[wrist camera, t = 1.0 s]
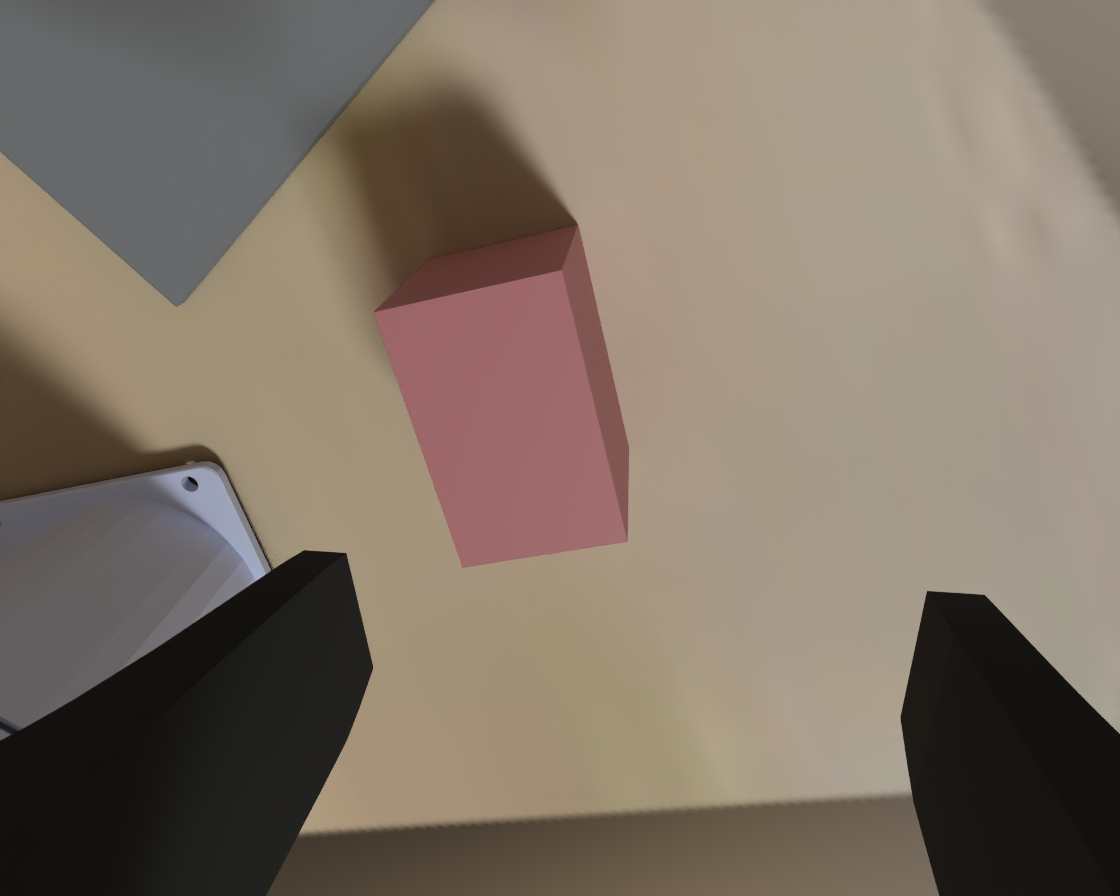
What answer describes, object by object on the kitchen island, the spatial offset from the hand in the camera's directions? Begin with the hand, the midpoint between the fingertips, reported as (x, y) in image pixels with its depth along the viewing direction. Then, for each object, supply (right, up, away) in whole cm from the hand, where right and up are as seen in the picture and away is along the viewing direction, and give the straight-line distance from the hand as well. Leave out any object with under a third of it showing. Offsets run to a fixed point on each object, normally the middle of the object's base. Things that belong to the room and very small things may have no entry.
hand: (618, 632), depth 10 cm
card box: (-1, +5, +12) cm, 13 cm away
